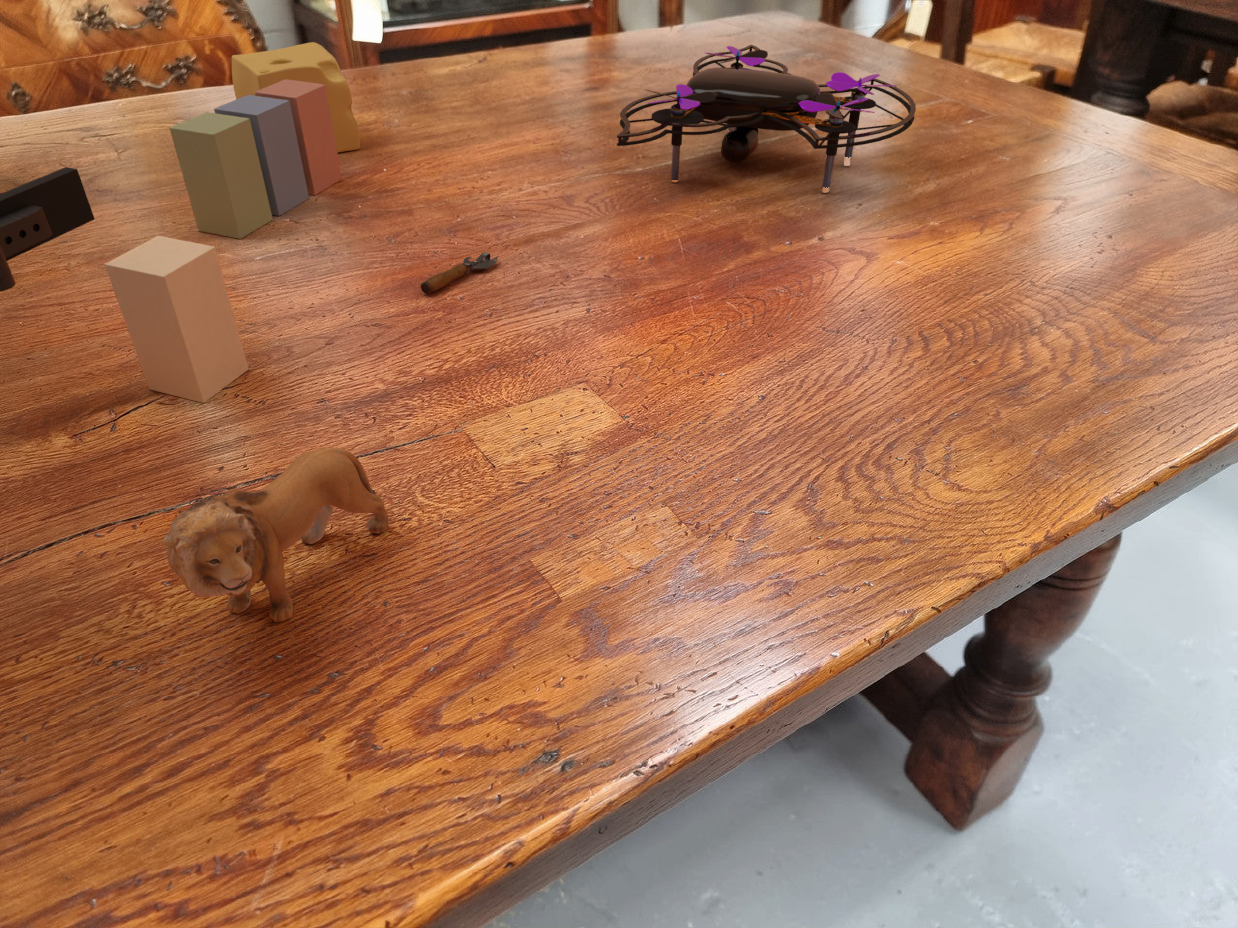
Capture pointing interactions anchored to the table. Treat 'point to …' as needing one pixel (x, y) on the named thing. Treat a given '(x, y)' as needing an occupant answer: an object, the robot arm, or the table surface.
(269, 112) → the block
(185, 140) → the block
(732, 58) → the drone
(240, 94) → the cheese
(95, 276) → the table surface
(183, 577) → the lion figurine
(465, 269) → the can opener
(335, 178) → the block
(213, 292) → the block
